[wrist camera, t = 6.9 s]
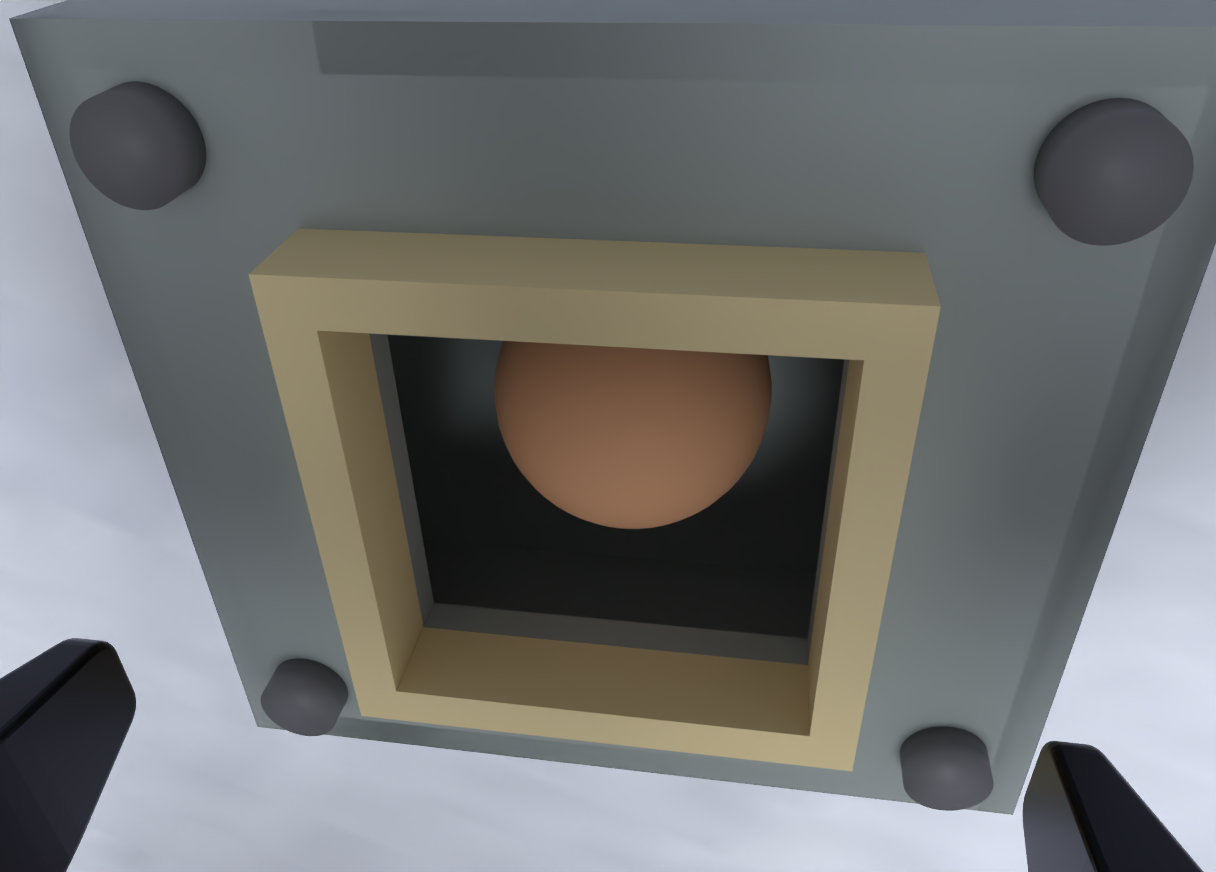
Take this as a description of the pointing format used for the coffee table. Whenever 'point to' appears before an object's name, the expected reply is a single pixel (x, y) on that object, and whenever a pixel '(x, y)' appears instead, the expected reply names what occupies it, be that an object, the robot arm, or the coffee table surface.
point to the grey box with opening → (653, 319)
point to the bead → (631, 426)
